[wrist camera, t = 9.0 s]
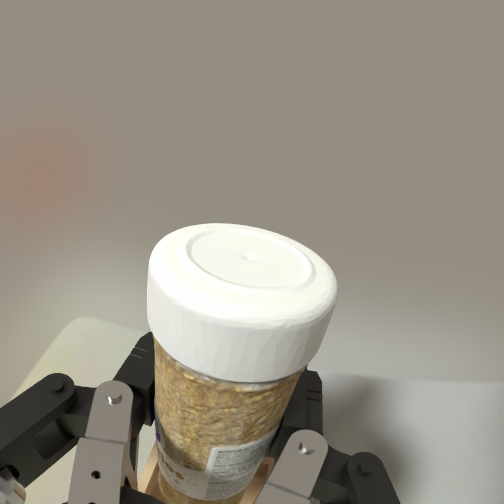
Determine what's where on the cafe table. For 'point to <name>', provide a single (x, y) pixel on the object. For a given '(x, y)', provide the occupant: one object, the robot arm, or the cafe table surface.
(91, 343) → the cafe table surface
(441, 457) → the cafe table surface
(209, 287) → the sprinkles bottle
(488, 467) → the cafe table surface
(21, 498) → the robot arm
